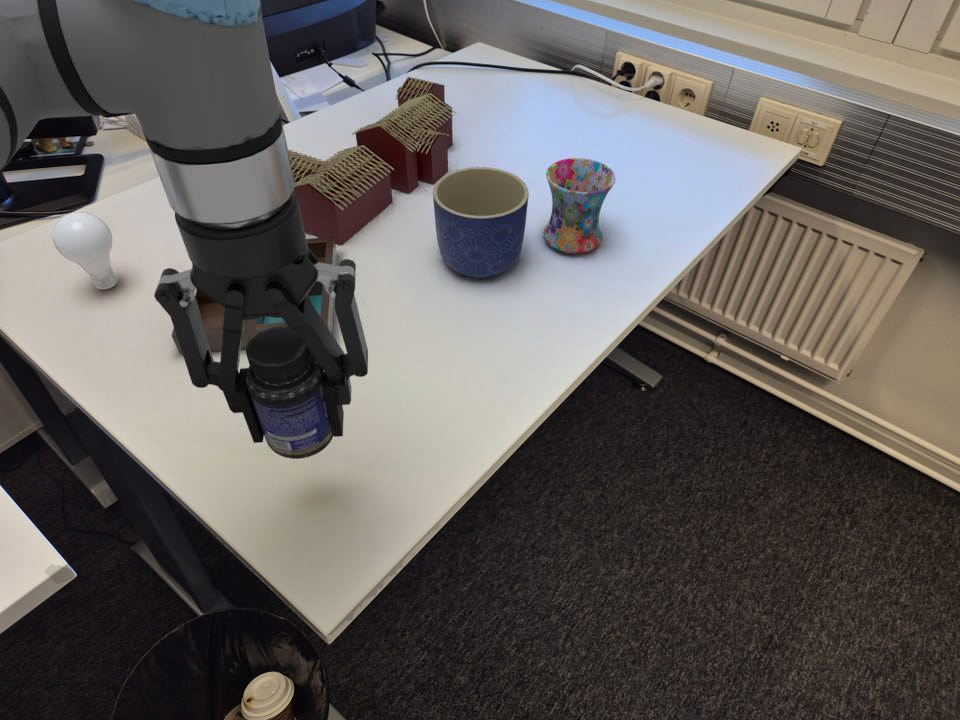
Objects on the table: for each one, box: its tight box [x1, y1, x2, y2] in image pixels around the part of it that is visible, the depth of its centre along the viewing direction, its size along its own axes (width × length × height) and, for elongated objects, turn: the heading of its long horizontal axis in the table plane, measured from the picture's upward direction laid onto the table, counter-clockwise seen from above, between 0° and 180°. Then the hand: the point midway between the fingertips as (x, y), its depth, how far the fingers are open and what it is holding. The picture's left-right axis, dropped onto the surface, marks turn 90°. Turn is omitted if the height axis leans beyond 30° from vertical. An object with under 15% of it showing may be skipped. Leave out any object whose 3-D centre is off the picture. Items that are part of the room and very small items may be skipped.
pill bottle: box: [245, 325, 334, 460], centre depth 54 cm, size 6×6×11 cm
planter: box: [432, 166, 530, 278], centre depth 87 cm, size 12×12×11 cm
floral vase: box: [543, 157, 616, 254], centre depth 91 cm, size 12×9×11 cm
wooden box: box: [170, 237, 338, 355], centre depth 83 cm, size 18×18×3 cm
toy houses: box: [288, 76, 457, 246], centre depth 105 cm, size 45×20×10 cm, turn 152°
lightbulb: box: [51, 211, 118, 291], centre depth 82 cm, size 6×6×11 cm
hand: (299, 427), depth 57 cm, fingers closed on pill bottle, 6 cm apart
